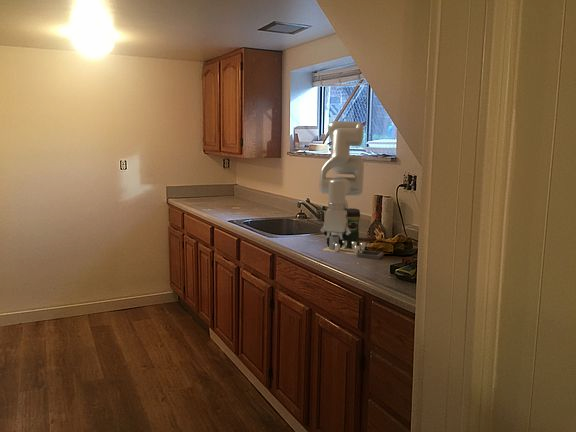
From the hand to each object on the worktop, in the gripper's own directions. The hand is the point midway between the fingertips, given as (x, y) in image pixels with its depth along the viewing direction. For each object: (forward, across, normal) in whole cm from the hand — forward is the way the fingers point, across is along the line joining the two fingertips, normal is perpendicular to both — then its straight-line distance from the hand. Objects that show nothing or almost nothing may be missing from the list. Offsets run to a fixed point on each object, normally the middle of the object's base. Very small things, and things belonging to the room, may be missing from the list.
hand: (334, 246), depth 239 cm
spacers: (+1, -7, 0) cm, 7 cm away
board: (+2, -4, 0) cm, 5 cm away
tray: (+2, -18, +7) cm, 20 cm away
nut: (+1, 0, 0) cm, 1 cm away
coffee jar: (+2, -3, -11) cm, 11 cm away
